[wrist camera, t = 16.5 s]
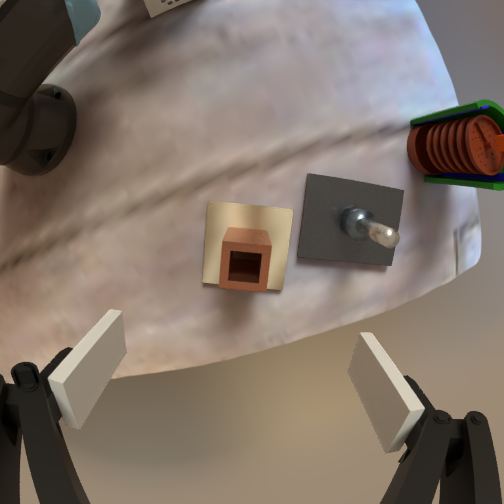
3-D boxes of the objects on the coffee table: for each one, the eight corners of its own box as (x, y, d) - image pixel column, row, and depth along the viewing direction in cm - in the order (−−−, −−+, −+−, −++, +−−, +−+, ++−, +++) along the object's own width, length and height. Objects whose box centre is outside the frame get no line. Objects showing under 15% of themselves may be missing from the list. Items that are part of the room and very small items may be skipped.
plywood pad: (203, 280, 41) (202, 282, 40) (209, 201, 38) (208, 201, 37) (281, 287, 41) (282, 290, 40) (291, 209, 39) (293, 210, 38)
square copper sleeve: (225, 263, 39) (218, 287, 30) (228, 226, 38) (222, 240, 29) (262, 267, 39) (266, 292, 31) (267, 230, 38) (272, 245, 29)
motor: (395, 127, 36) (488, 102, 16) (434, 109, 35) (524, 85, 15) (422, 189, 38) (519, 204, 18) (458, 167, 37) (552, 173, 17)
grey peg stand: (297, 254, 40) (317, 286, 28) (307, 173, 37) (333, 171, 25) (387, 263, 40) (431, 293, 28) (399, 189, 38) (450, 196, 26)
